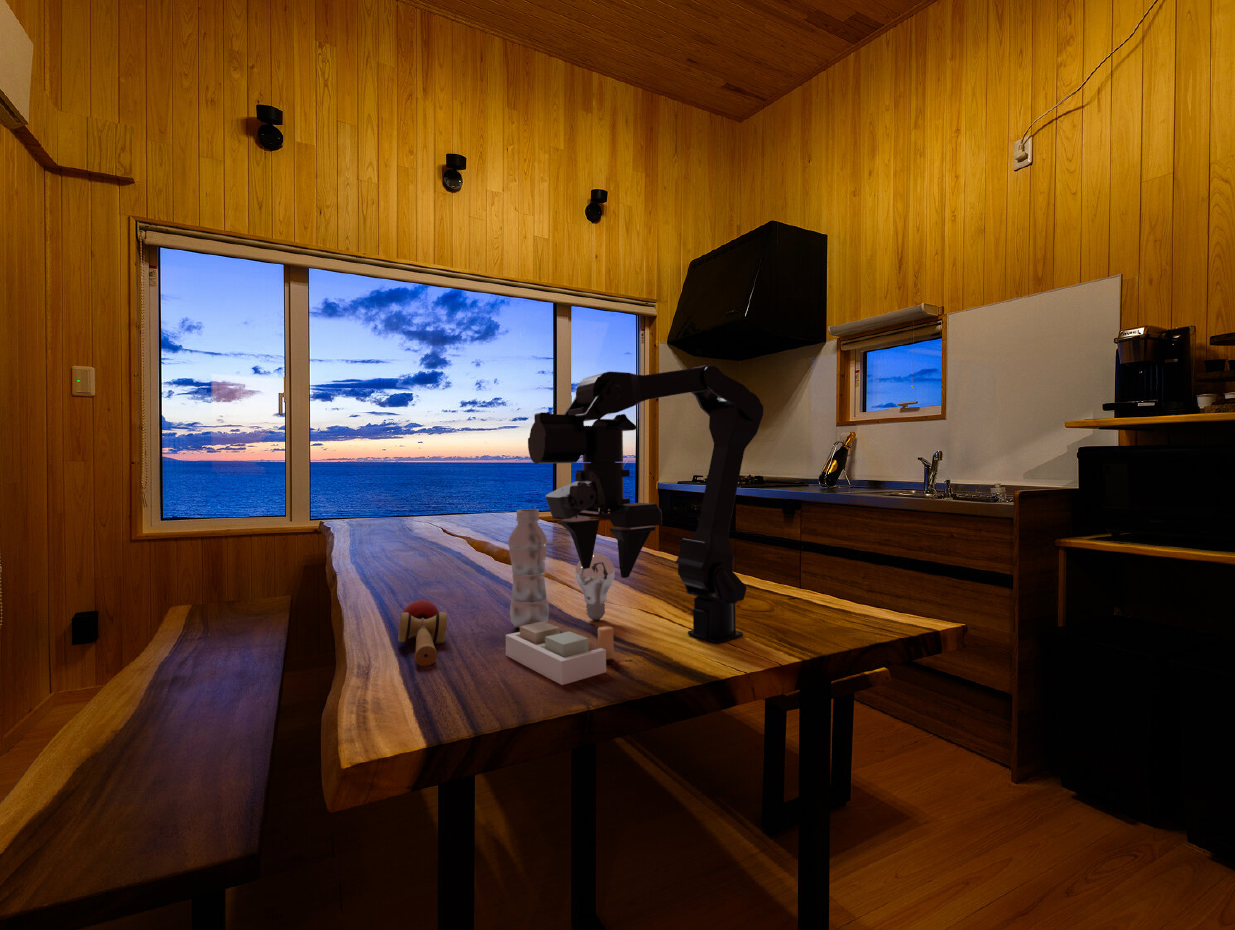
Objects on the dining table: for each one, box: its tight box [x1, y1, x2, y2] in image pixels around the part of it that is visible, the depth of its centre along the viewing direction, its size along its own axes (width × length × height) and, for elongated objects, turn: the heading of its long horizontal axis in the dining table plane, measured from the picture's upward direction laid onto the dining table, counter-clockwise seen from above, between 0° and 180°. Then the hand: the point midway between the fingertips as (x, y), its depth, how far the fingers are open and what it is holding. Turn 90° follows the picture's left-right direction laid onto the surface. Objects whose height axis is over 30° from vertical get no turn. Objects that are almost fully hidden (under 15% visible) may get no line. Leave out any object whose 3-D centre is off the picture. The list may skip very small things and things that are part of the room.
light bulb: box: [574, 552, 616, 622], centre depth 104 cm, size 7×7×12 cm
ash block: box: [519, 621, 561, 645], centre depth 85 cm, size 4×4×4 cm
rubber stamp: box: [545, 626, 615, 660], centre depth 82 cm, size 10×4×4 cm, turn 128°
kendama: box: [397, 599, 448, 667], centre depth 91 cm, size 8×6×18 cm
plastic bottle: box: [507, 508, 550, 629], centre depth 101 cm, size 6×7×20 cm
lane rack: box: [505, 631, 607, 686], centre depth 83 cm, size 7×15×3 cm, turn 38°
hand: (604, 572), depth 84 cm, fingers open, 9 cm apart
